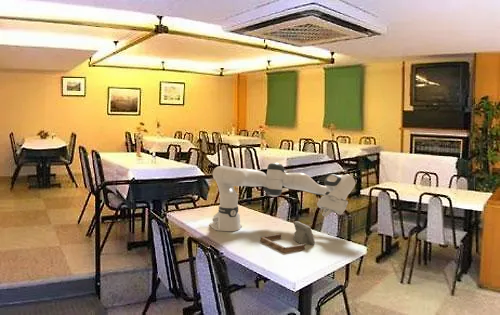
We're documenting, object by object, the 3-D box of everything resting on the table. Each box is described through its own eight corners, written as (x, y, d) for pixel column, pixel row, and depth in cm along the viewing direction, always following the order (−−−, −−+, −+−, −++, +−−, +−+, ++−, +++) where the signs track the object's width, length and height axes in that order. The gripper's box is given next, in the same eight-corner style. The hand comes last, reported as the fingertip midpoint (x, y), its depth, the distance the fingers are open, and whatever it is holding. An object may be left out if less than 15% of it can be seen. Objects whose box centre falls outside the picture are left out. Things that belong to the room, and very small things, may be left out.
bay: (260, 241, 257) (260, 236, 257) (279, 238, 264) (279, 233, 264) (284, 253, 237) (284, 248, 236) (304, 249, 244) (304, 244, 243)
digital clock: (315, 245, 251) (316, 226, 250) (300, 246, 249) (301, 227, 248) (305, 237, 267) (306, 219, 265) (291, 238, 265) (291, 220, 263)
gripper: (352, 204, 260) (338, 223, 256) (328, 198, 278) (315, 215, 274) (346, 197, 257) (333, 216, 253) (323, 191, 275) (310, 209, 271)
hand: (324, 215), depth 264 cm, fingers closed
